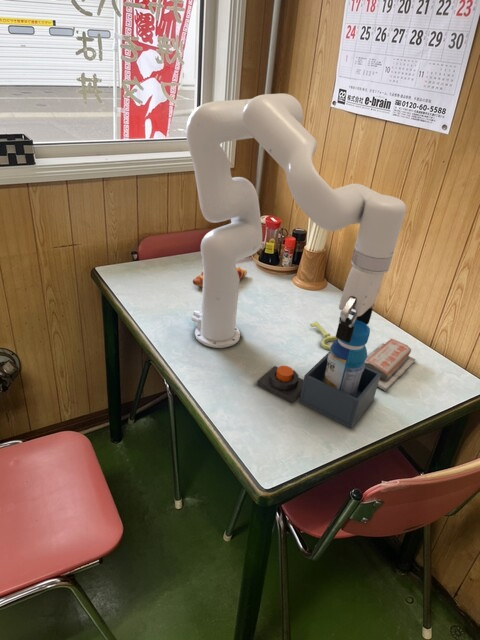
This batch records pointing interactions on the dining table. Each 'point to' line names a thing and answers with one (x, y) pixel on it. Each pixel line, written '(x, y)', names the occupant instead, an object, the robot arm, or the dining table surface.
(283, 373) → the call button
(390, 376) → the packaged product
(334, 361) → the beverage bottle
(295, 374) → the box
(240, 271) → the croissant
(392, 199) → the robot arm
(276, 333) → the dining table surface
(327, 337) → the key
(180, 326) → the dining table surface
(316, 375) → the blue box
